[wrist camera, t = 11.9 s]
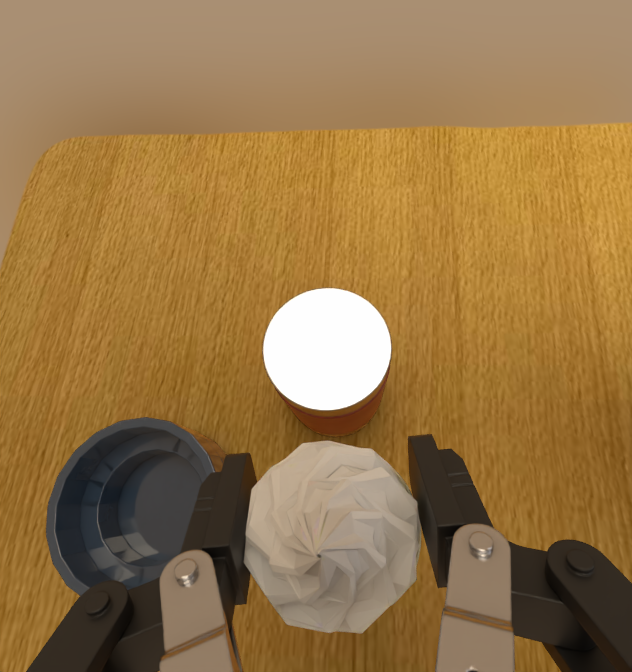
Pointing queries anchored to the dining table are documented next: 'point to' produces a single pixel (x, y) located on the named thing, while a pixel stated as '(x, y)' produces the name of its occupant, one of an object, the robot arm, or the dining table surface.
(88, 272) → the dining table surface
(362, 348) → the tin can
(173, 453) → the bowl
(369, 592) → the ice cream cone
